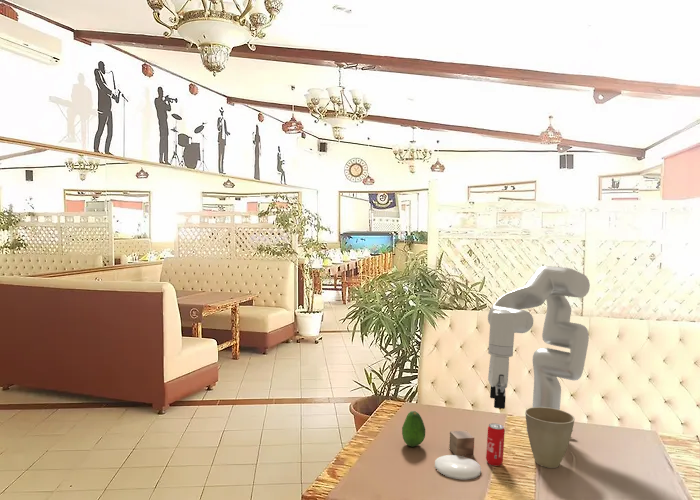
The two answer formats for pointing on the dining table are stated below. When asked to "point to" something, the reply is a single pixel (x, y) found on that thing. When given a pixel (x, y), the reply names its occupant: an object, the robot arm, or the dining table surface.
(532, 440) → the plant pot
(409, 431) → the avocado
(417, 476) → the dining table surface
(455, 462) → the ceramic plate
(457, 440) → the walnut block
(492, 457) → the beverage can
